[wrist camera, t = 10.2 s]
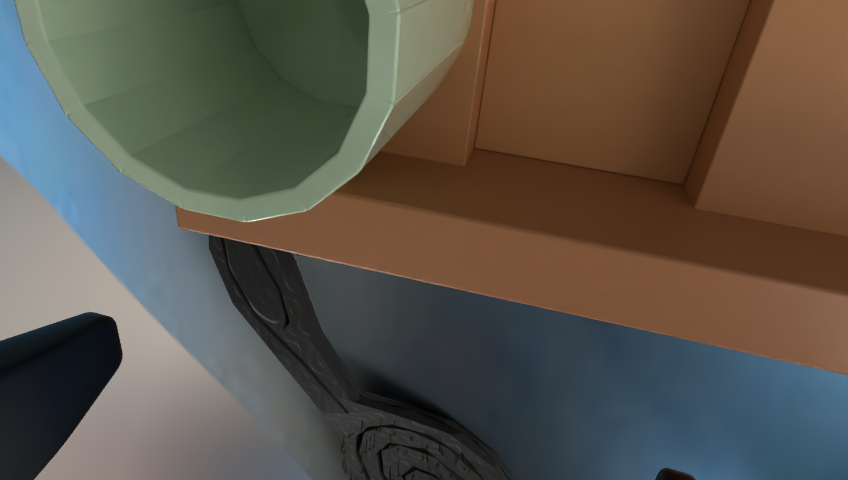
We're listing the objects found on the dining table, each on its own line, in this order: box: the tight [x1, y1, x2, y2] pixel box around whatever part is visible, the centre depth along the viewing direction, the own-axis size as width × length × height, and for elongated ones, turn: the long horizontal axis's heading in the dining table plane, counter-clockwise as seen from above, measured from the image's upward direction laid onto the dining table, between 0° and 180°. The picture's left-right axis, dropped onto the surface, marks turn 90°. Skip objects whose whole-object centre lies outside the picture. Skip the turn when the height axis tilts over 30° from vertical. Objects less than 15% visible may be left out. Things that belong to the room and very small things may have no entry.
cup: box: [14, 0, 474, 222], centre depth 11 cm, size 6×6×6 cm
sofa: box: [175, 0, 848, 375], centre depth 14 cm, size 20×10×8 cm, turn 85°
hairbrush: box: [209, 235, 511, 480], centre depth 26 cm, size 8×4×25 cm
